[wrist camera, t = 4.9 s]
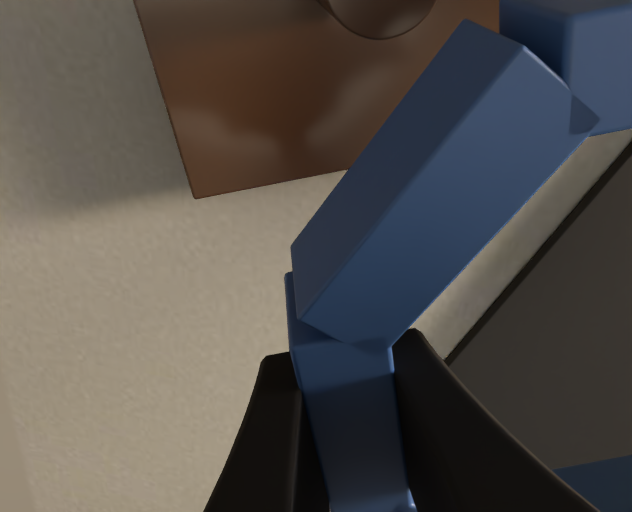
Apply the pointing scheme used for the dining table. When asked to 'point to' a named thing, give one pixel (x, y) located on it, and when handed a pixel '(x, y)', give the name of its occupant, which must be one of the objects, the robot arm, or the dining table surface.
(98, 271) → the dining table surface
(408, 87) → the platform
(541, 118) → the ring
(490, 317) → the mat
